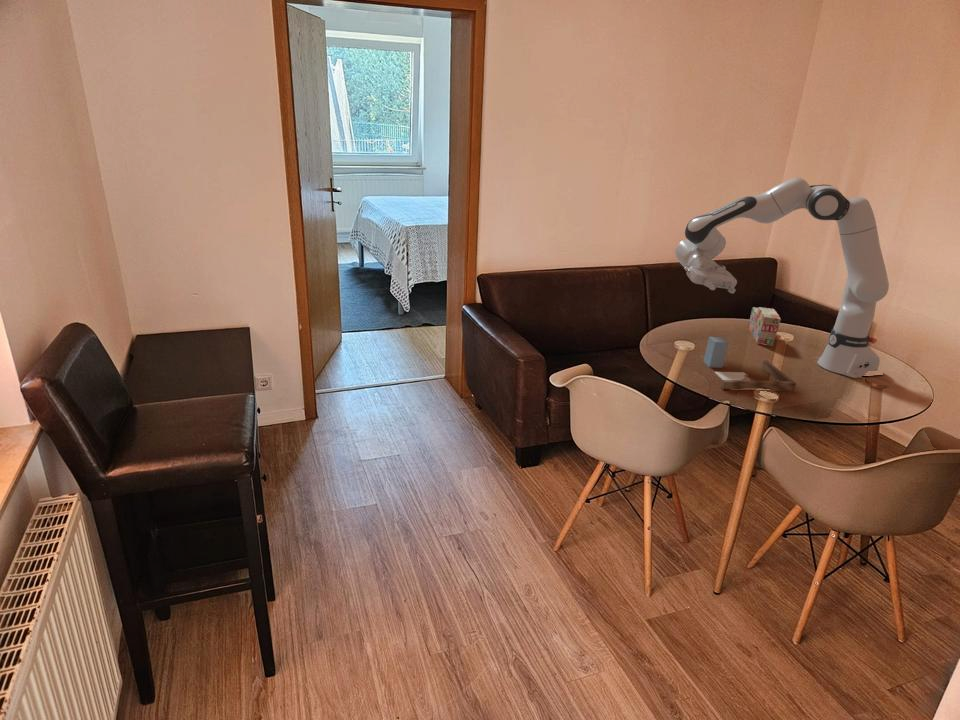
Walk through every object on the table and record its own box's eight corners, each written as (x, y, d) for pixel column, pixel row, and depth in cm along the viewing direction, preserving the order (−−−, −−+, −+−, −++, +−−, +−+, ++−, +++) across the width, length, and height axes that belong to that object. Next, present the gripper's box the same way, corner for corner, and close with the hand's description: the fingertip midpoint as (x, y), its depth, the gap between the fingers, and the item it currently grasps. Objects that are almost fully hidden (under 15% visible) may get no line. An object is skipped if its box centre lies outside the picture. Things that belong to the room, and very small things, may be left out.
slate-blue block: (716, 361, 225) (722, 337, 221) (722, 367, 221) (728, 342, 217) (703, 361, 225) (709, 336, 221) (709, 367, 220) (715, 342, 216)
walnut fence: (765, 367, 223) (767, 360, 222) (793, 391, 206) (796, 383, 205) (699, 366, 220) (701, 358, 219) (722, 389, 203) (725, 381, 202)
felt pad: (743, 373, 217) (743, 372, 217) (759, 386, 207) (759, 386, 207) (714, 372, 216) (714, 371, 216) (728, 386, 206) (729, 385, 206)
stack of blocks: (747, 326, 264) (754, 300, 259) (762, 328, 263) (769, 302, 258) (756, 344, 245) (764, 316, 240) (773, 346, 244) (781, 318, 239)
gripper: (686, 258, 222) (707, 279, 212) (727, 266, 230) (748, 286, 221) (677, 272, 225) (697, 293, 216) (718, 279, 234) (738, 300, 224)
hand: (723, 290), depth 218 cm, fingers open, 8 cm apart
